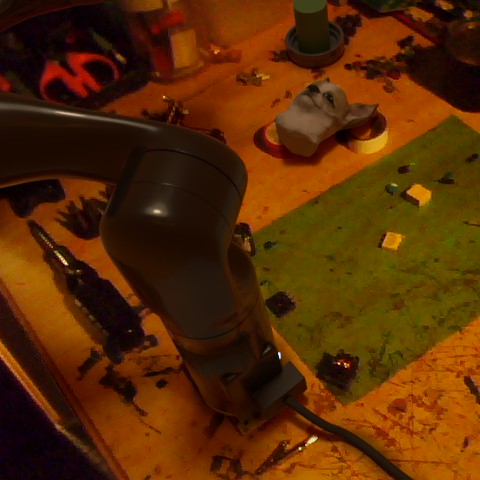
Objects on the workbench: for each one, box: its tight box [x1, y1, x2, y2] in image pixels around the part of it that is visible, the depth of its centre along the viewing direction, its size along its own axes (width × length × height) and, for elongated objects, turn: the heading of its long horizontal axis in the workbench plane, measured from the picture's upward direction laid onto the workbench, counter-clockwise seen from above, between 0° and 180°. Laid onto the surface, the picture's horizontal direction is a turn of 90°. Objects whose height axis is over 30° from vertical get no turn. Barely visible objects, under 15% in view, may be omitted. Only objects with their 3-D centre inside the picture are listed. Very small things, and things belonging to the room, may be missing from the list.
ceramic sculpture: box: [273, 77, 380, 158], centre depth 91 cm, size 11×9×15 cm
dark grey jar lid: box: [284, 19, 346, 69], centre depth 104 cm, size 9×9×2 cm
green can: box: [292, 0, 330, 54], centre depth 101 cm, size 5×5×8 cm
